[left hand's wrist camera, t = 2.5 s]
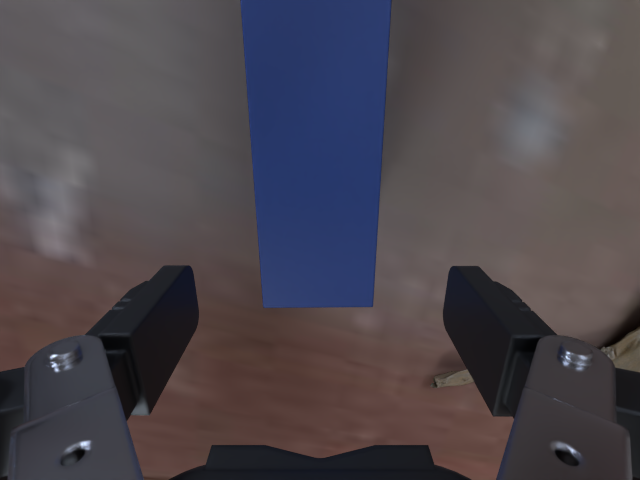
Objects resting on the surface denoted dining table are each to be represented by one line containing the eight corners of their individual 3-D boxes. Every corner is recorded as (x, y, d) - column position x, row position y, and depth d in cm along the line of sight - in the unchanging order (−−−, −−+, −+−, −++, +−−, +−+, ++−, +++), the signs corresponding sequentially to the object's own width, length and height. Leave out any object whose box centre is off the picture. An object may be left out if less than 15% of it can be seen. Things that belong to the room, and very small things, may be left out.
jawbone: (698, 337, 29) (725, 356, 27) (463, 431, 33) (473, 453, 31) (685, 255, 25) (715, 270, 23) (424, 372, 29) (432, 393, 28)
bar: (353, 232, 25) (373, 307, 16) (282, 233, 25) (263, 308, 16) (370, -289, 16) (440, -788, 7) (257, -290, 16) (181, -790, 7)
